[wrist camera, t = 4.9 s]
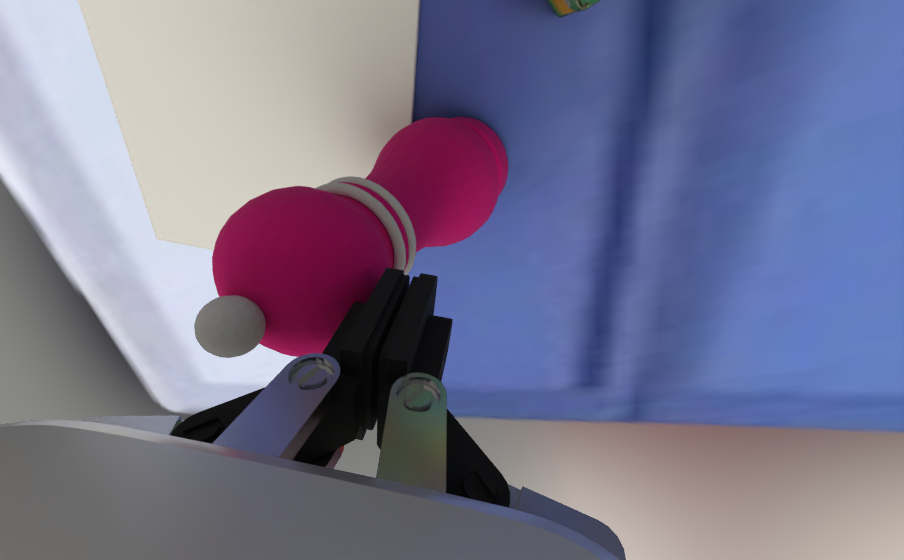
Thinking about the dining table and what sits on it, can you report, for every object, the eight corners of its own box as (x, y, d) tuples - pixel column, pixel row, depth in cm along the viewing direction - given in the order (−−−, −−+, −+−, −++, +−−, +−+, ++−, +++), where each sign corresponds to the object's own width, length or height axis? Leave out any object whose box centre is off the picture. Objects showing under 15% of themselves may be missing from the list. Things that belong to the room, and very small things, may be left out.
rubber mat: (52, -102, 22) (43, -105, 22) (424, -50, 21) (421, -52, 21) (161, 236, 34) (156, 239, 34) (401, 282, 33) (400, 285, 33)
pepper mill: (420, 210, 29) (167, 403, 13) (412, 107, 26) (51, 202, 10) (513, 221, 27) (339, 472, 11) (519, 108, 23) (272, 238, 7)
